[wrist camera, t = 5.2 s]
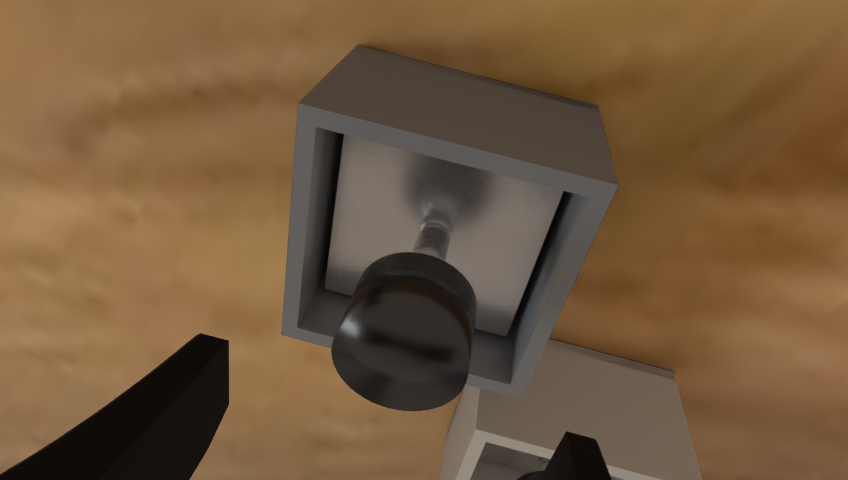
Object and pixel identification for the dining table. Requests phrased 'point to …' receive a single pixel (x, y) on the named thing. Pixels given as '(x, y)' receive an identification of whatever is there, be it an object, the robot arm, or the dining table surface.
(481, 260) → the grey plunger
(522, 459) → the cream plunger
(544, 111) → the grey open box
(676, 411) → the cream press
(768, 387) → the dining table surface
